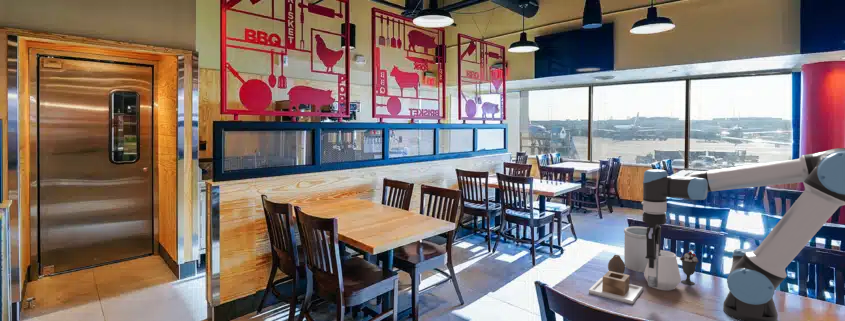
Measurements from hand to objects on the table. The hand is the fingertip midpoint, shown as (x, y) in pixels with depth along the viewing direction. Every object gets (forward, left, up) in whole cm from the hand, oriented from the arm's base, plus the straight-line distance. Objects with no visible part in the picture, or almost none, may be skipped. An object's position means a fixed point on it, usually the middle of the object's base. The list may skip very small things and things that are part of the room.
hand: (652, 274), depth 154 cm
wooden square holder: (+14, -4, -11) cm, 18 cm away
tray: (+14, -4, -12) cm, 19 cm away
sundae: (-7, -32, -12) cm, 35 cm away
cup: (+1, -22, -12) cm, 25 cm away
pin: (0, 0, -4) cm, 4 cm away
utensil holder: (+12, -39, -12) cm, 43 cm away
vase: (+19, -23, -12) cm, 32 cm away
